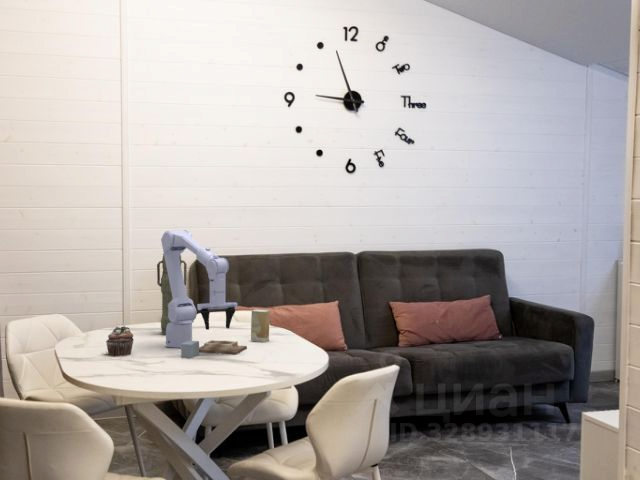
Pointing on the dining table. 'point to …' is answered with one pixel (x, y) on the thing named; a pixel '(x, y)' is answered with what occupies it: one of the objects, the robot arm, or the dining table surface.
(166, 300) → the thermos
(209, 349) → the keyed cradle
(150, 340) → the dining table surface
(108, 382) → the dining table surface
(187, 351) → the key block
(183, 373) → the dining table surface
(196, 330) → the dining table surface
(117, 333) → the cupcake
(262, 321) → the skincare box
